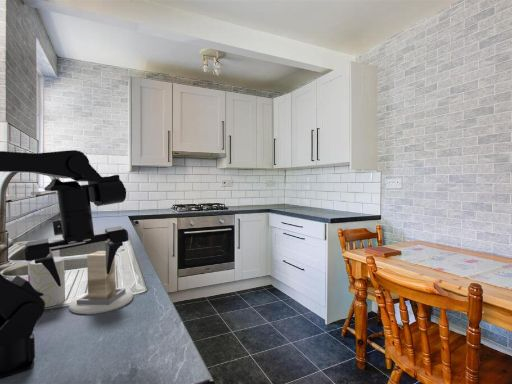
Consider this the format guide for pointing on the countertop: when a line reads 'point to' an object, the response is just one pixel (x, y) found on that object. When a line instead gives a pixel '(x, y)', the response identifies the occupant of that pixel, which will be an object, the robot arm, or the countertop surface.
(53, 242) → the robot arm
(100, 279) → the birch block
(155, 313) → the countertop surface
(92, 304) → the locating plate
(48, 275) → the cup
